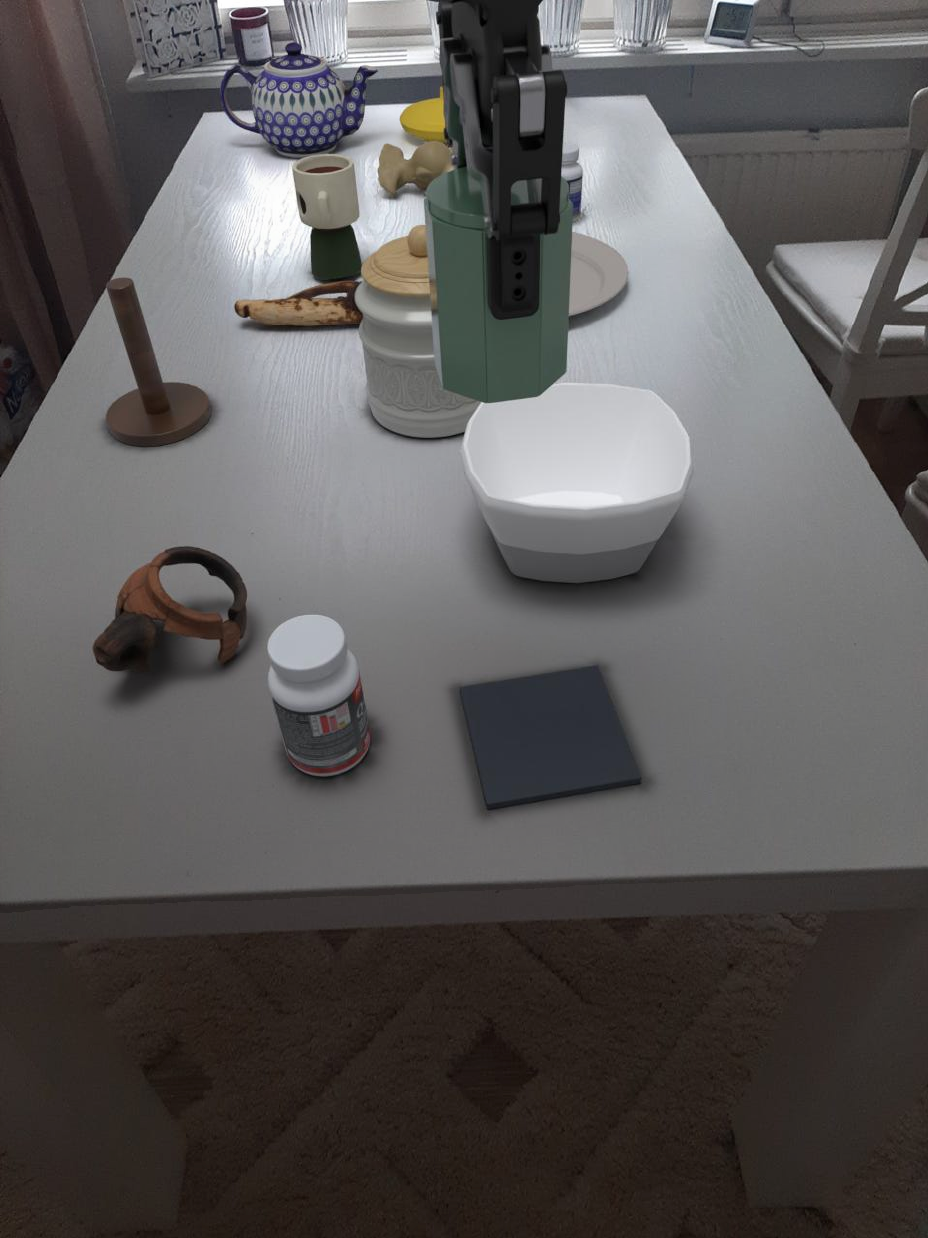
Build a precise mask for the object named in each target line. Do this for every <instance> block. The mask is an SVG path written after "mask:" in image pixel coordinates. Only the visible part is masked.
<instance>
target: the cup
mask: <svg viewBox="0 0 928 1238" xmlns="http://www.w3.org/2000/svg"><path fill="white" fill-rule="evenodd" d="M523 203H529V200H528V190H527V181H526V180H522V181H517V182H515V183H514V184H513V185H512V187H511V205H514V204H523ZM423 209H424V211H423V213H424V222H425V223H424V225H425V227H426V242H427V256H428V271H429V286H430V300H431V315H432V329H433V344H434V359H435V365H436V369H437V372H438V375H439V378H440V381H441V384H442V387H443V389H444V390H447V391H450V392H453V393H456V394H459V395H462V396H465V397H468V398H471V399H474V400H477V401H480V402H483V403H495V402H503V401H510V400H518V399H525V398H533V397H538V396H540V395H542V394H543V393H544V392H545V391H546V390H547V389H548V388H550V387H551V386H552V385H553V384H556V383H557V382H558V381H559V380H560V379H561V378H562V377H564V375H566V373H567V371H568V369H567V368H568V346H569V345H568V343H569V322H570V321H569V320H570V316H569V298H570V274H571V250H572V232H573V225H574V224H573V223H574V222H573V204H572V202H571V201H570V199H569V185H568V183H567V181H566V180H565V179H564V178H563V177H562V176H561V190H560V208H559V213H560V223H559V226H558V232H557V233H556V234H549V235H544V234H543V235H540V295H539V309H538V311H537V312H536V313H535V314H534V315H532V316H529V317H521V318H513V319H505V320H498V319H496V318H494V317H493V315H492V313H491V311H490V309H489V306H488V274H487V233H486V230H484V227H483V217H484V209H483V199H482V190H481V185H480V183H479V182H478V181H477V180H474V179H473V178H472V177H471V176H470V175H469V173H468V170H467V167H462V168H459V169H455V170H452V171H449V172H447V173H445V174H443V175H441V176H439V177H437V178H436V179H434V180H433V181H432V182H431V183H430V184H429V186H428V188H427V189H425V198H423Z"/></svg>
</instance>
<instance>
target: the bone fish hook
mask: <svg viewBox="0 0 928 1238" xmlns="http://www.w3.org/2000/svg"><path fill="white" fill-rule="evenodd" d="M362 281H363V280H360V281H359V280H341V281H333V282H328V283H323V284H319V285H314V286H312V287H311V286H310V287H308V288H305V289H302V290H300V291H298V292H296V293H294V294H292V295H290V296H288V297H287V298H276V299H274V298H273V299H266V298H261V299H259V298H258V299H238V300H236V301H235V303H234V305H233V308H234V313H235V314H236V315H237V316H239V318H242V319H248V318H250V320H252V321H253V322H255V323H260V324H262V325H268V326H270V325H273V326H275V325H276V326H294V327H301V326H302V327H303V326H304V327H307V326H308V327H315V326H326V325H327V326H339V325H352V324H353V325H355V324H359V325H360V323H361V321H362V320H363V313H362V312H361V311H360V310H359V308H358V307H357V305H356V303H355V292H356V289H357V287H358V286H359V284H360V283H361V282H362ZM336 294H346V296H344V295H340V296H337V297H328V298H327V297H326V298H321V297H319V296H325V295H336Z"/></svg>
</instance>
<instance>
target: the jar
mask: <svg viewBox="0 0 928 1238" xmlns="http://www.w3.org/2000/svg"><path fill="white" fill-rule="evenodd" d="M360 275H361V279H363V280H361V281H362V282H361V283H360V284H359V286H358V287H357V289H356V292H355V303H356V305H357V307H358V308H359V310H360V311H361V312H362V313H363V320H362V321H361V323H360V324H359V325H358V326H359V327H358V336H359V339H360V341H361V344H362V353H363V360H364V367H365V369H364V370H365V376H366V377H365V378H366V385H365V392H366V398H367V403H368V405H369V407H370V410H371V414H372V416H373V418H374V420H376V422H377V423H379V424H380V425H381V426H382V427H384V428H386V429H387V430H389V431H391V432H394V433H396V434H399V435H403V436H407V437H413V438H427V439H428V438H429V439H432V438H442V437H450V436H455V435H458V434H462V433H465V430H466V427H467V423H468V421H469V420H470V418H471V417H472V415H473V414H474V412H475V411H476V409H477V408H478V407H479V405H480V404H481V402H480V401H477V400H474V399H471V398H468V397H465V396H462V395H459V394H456V393H453V392H450V391H447V390H444V389H443V387H442V384H441V381H440V378H439V375H438V372H437V369H436V365H435V359H434V344H433V329H432V315H431V300H430V286H429V271H428V256H427V242H426V227H425V224H418V225H415V226H413V227H412V228H411V229H410V231H409V233H408V235H405V236H402V237H398V238H395V239H392V240H390V241H388V242H386V243H384V244H383V245H381V246H380V247H379V248H378V249H377V250H376V251H375V252H373V253H371V254H370V255H369V256H368V257H367V258H366V259H365V260H364V261H363V262H362V267H361V271H360Z"/></svg>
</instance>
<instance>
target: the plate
mask: <svg viewBox="0 0 928 1238" xmlns="http://www.w3.org/2000/svg"><path fill="white" fill-rule="evenodd" d="M628 279H629V267H628V264H627V262H626V259H625V258H624V257H623V256H622V254H621V253H620V252H618V250H616V249H615V248H614V247H612V246H611V245H609V244H607V243H606V242H603V241H602V240H599V239H597V238H595V237H592V236H589V235H587V234H583V233H579V232H576V231H572V250H571V274H570V298H569V317H570V316H575V315H578V314H581V313H584V312H588V311H590V310H593V309H595V308H598V307H600V306H602V305H603V304H605V303H607V302H608V301H610V300H611V299H613V298H615V297H616V296H617V295H618V294H619V293H620V292H621V291H622V290H623V289H624V287H625V286H626V284H627V281H628Z"/></svg>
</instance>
